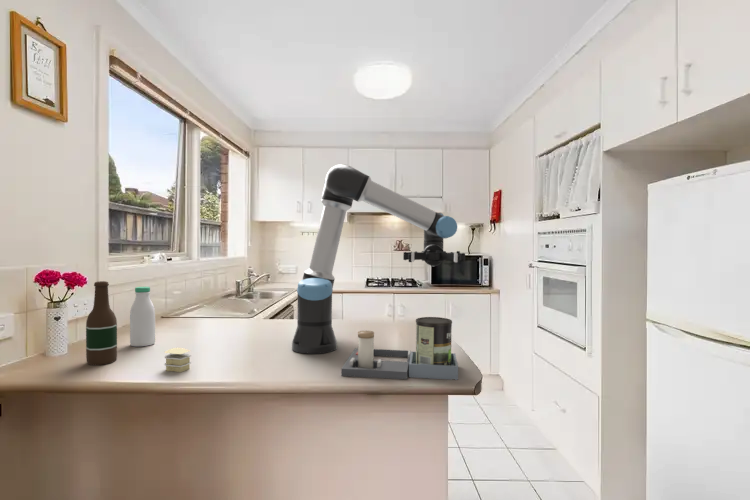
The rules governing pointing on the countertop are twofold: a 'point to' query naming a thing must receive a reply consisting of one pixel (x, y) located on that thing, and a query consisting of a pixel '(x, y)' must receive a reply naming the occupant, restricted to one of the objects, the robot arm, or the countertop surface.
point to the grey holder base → (378, 365)
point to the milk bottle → (142, 319)
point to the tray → (433, 369)
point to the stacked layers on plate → (177, 360)
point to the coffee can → (433, 341)
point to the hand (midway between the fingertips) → (434, 257)
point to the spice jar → (365, 349)
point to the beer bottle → (101, 329)
